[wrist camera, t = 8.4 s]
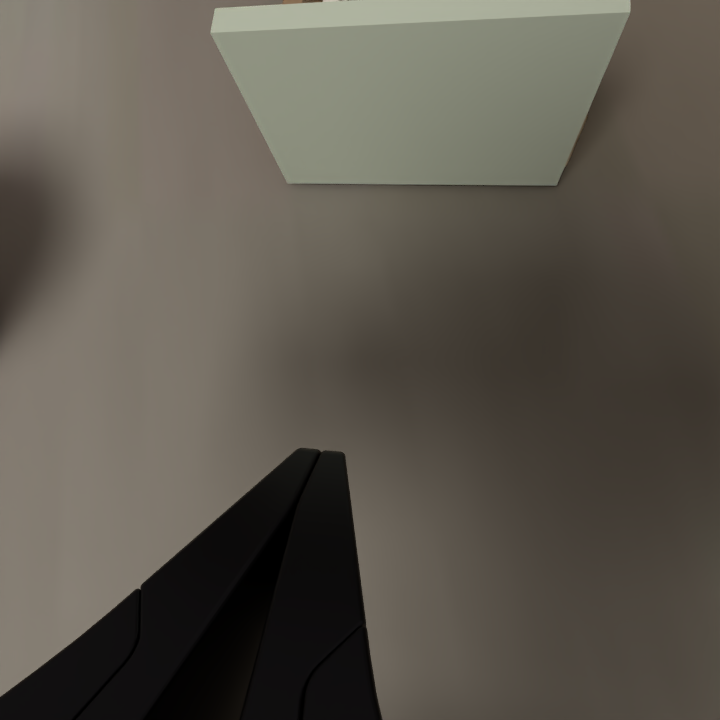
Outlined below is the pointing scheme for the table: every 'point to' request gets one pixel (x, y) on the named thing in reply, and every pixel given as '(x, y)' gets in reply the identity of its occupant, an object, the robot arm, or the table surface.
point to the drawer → (420, 85)
